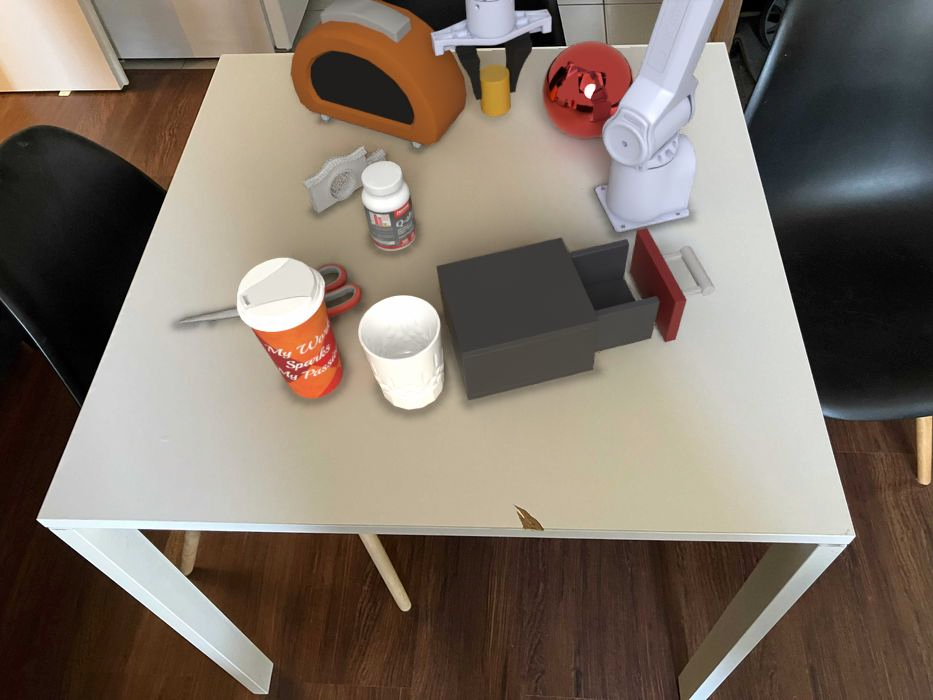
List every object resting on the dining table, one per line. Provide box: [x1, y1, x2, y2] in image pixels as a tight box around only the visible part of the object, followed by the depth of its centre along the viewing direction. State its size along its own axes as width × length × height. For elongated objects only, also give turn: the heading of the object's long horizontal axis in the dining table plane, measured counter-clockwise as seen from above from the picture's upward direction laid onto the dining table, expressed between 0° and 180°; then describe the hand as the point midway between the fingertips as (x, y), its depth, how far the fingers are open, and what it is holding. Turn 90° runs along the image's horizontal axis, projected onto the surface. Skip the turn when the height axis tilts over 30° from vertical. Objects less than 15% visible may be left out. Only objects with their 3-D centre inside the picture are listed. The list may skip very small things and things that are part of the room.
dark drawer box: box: [436, 237, 599, 401], centre depth 75 cm, size 14×12×9 cm
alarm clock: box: [290, 0, 467, 149], centre depth 96 cm, size 23×9×17 cm, turn 62°
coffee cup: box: [236, 257, 343, 399], centre depth 72 cm, size 8×8×15 cm
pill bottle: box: [361, 160, 417, 252], centre depth 85 cm, size 6×6×10 cm
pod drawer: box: [568, 227, 716, 353], centre depth 76 cm, size 17×10×7 cm, turn 104°
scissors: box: [178, 263, 363, 324], centre depth 83 cm, size 8×21×2 cm, turn 112°
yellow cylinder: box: [479, 64, 512, 117], centre depth 93 cm, size 4×4×5 cm
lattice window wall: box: [301, 145, 387, 214], centre depth 93 cm, size 12×2×6 cm, turn 132°
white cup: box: [357, 294, 445, 410], centre depth 73 cm, size 8×8×10 cm
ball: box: [541, 40, 636, 140], centre depth 94 cm, size 12×12×12 cm
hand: (494, 91), depth 94 cm, fingers closed on yellow cylinder, 4 cm apart
